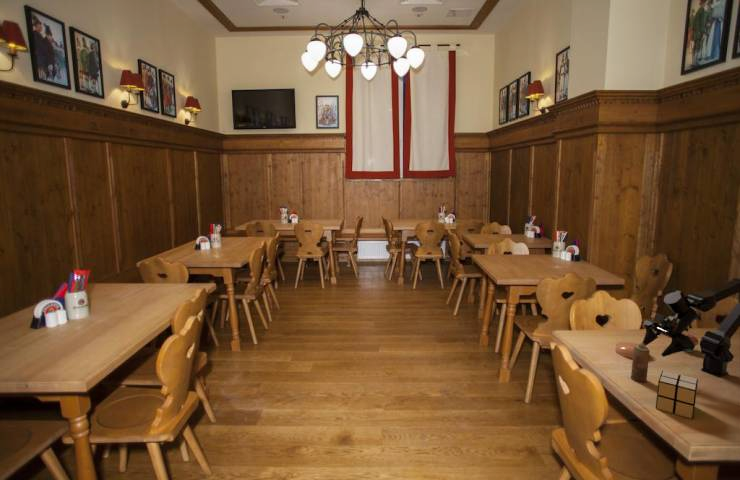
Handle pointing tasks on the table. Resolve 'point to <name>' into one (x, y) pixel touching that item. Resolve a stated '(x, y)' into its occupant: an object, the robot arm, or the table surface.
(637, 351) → the pepper mill
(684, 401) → the puzzle cube
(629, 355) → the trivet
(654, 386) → the table surface
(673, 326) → the robot arm
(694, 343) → the cupcake
